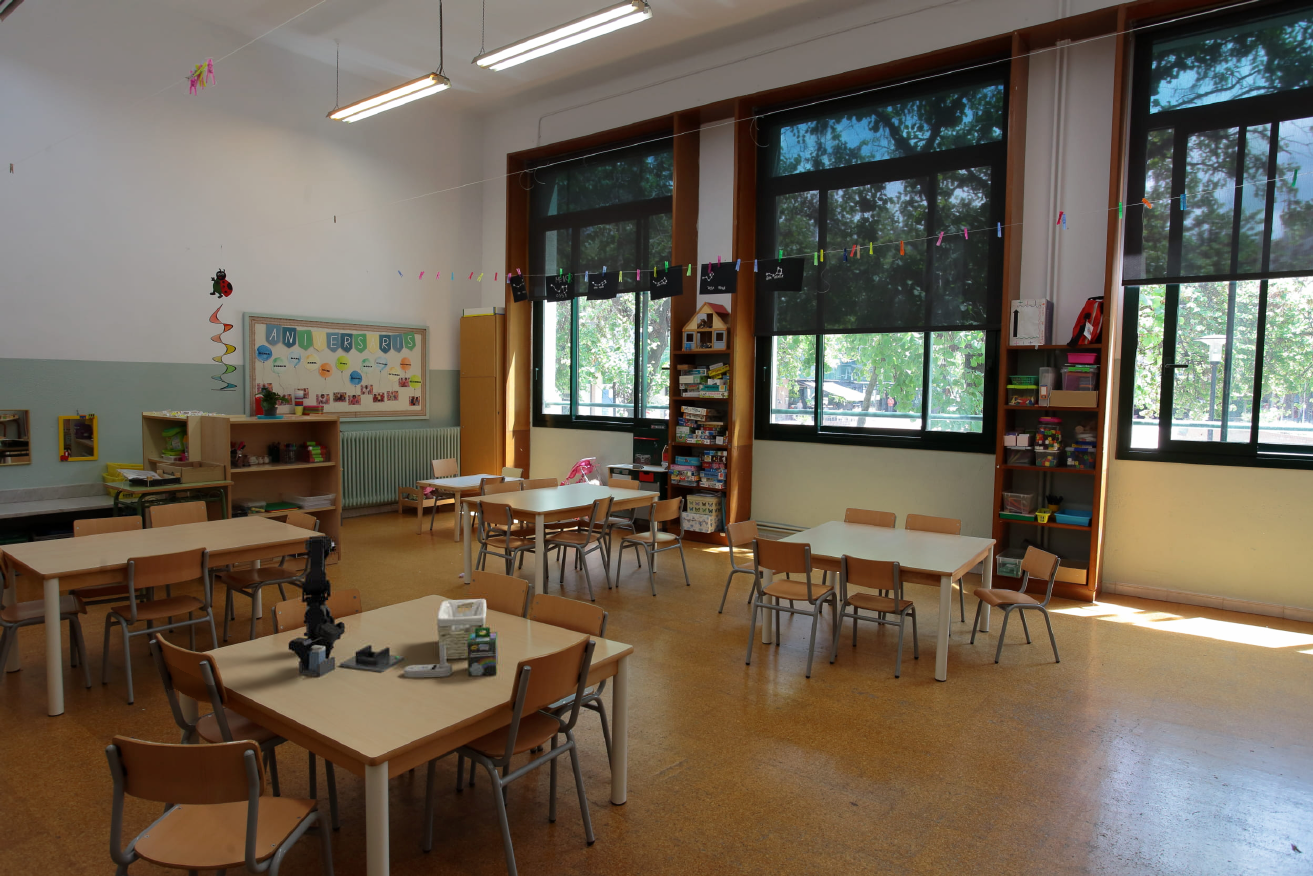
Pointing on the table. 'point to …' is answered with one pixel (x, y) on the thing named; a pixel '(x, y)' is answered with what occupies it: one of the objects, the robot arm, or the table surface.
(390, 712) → the table surface
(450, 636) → the storage basket
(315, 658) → the plug
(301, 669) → the holster
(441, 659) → the electronic device
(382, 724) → the table surface
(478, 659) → the chalk box
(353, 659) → the port
